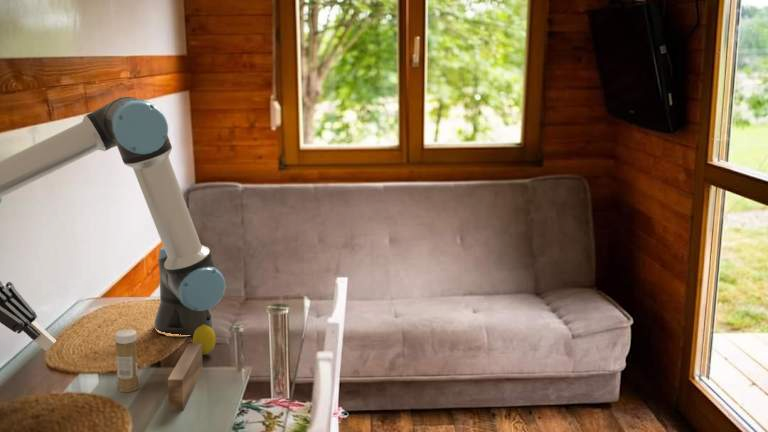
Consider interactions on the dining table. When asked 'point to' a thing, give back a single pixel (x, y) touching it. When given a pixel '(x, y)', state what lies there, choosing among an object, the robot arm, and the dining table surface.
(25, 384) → the dining table surface
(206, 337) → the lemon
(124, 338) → the sprinkles bottle
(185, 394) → the walnut board
